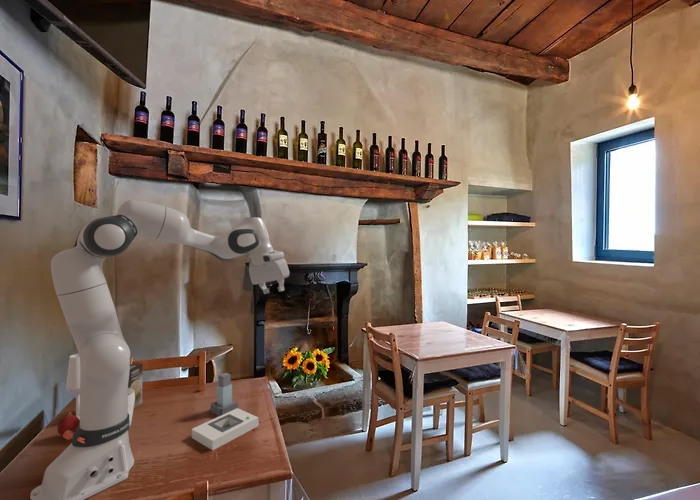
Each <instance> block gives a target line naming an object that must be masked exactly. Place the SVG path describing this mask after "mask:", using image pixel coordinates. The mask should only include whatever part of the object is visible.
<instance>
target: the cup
mask: <svg viewBox="0 0 700 500" xmlns="http://www.w3.org/2000/svg"><path fill="white" fill-rule="evenodd" d="M134 402H135V393H134V389H132V388H128V414H129V421H130V426H131V425H132V420H133V413H134V409H135V408H134ZM133 408H134V409H133Z"/></svg>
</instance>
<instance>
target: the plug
mask: <svg viewBox="0 0 700 500" xmlns="http://www.w3.org/2000/svg"><path fill="white" fill-rule="evenodd" d="M231 377H232V376H231V373H228V372H223V373H221V374H218V383H217V385H216V401H217V405H218V406H220V407H222V408H223V407H225V406H228V405H230V404H232V403H233V384H232V383H231V381H232V380H231V379H232V378H231Z"/></svg>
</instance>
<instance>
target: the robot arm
mask: <svg viewBox="0 0 700 500" xmlns="http://www.w3.org/2000/svg"><path fill="white" fill-rule="evenodd" d="M136 237H141V238H147V239H150V240H155V241H159V242H163V243H170V244H177V245H183V246H186V247H190V248H193V249H195V250H196V249H197V250H200V251H203V252H206V253H208V254H211V255H212V256H214V257H215V258H216V259H218V260H220V261H225V262H226V261H227V262H229V261H232V260H233V259H235V258H237V257H241V256H243V255H246V254H247V253H249V256H250V259H251V261H250V262H249V266H248V272H249V278H250V282H251V283H252V285H253V286H254V285H258V286H259V288H260V289H261V290H262V291H263V294H264V295H266V294H270V289H269V288H267V285H266V283H268V282H274V281H277V283H278V287H277V290H278V292H283V291H285V286H284V285H285V279H287V278H289V277H290V270H289V266H288V263H287V261H286V259H285V253H284V252H283V251H280V250H276V249H274V247H273V245H272V243H271V240H270V235H269V232H268V229H267V225H266V224H265V222H264V220H263V219H262V218H261V217H258V216H250V217H249V216H248V217H246V218H242V220H241V222H240V223H239V224H238V225H237V226H235V227H234V228H233V229H231V230H230V231H227V232H225V233H223V234H220V235H211V234H209V233H206V232H203V231H199V230H197V229H194V228H192V226H191V223H190V219H189V218H188V216H187V215H186V214H185V213H183V212H182V211H179V210H178V209H175V208H172V207H170V206H166V205H163V204H158V203H154V202H150V201H145V200H138V199H130V200H127V201H124V202H123V203H121V205H120V206H119V208H118V209H117V212H116V214H115V215H110V216H104V217H100V218H94V219H92V220H90V221H88V222H86V223H85V224H84V225H83V226H82V227H81V228H80V230H79V232H78V233H77V237H76V240H75V242H74V245H73V247H72V248H68V249H64V250H61V251H59V252H58V253H56V254H55V255H54V256H53V257H52V258H51V260H50V271H51V272H50V273H51V278H52V283H53V287H54V290H55V294H56V297H57V299H58V302H59V305H60V308H61V310H62V314H63V316H64V318H65V322H66V325H67V327H68V330H69V332H70V334H71V336H72V339H73V342H74V344H75V347H76V349H77V352H78V353H77V354H79V357H80V425H79V426H78V428H77V430H76V432H75V433H74V432H72V431H71V430H67V431H66V432H65V433H64V434H63V436H62V438H64V439H66V440H67V441H70V440H71V443H70V444H69V445H68V446H67V447H66V448H65V449H64V450H63V451H62V452H61V453H60V454H59V455H58V456H57V457H56V458H55V459H53V461H51V463H49V465H48V466H47V468H46V469H45V471H44V474H43V477H42V482H41V484H40V485H38V486H36V487H35V488H33V489H32V490H31V492H30V497H29V500H30V499H31V500H86V499H87V498H91V497H92V496H94V495H96V494H98V493H100V492H103V491H105V490H106V489H109V488H110V487H112V486H114V485H117V484H118V483H121V482H123V481H125V480H127V478H128V477H129V473H130V470H131V468H132V467H133V466H134V464H135V458H134V455H133V453H132V450H131V444H130V439H129V432H130V427H131V425H130V421H129V414H128V381H129V371H130V364H131V350H130V347H129V345H128V343H127V341H126V339H125V337H124V335H123V331H122V329H121V325H120V322H119V319H118V315H117V311H116V307H115V304H114V301H113V298H112V295H111V291H110V289H109V286H108V282H107V279H106V277H105V274H104V270H103V263H104V261H105V259H107V258H112V257H117V256H119V255H120V254H123V253H125V252H126V250H127V249H128V248H129V247H130V246H131V245H132V243H133V240H134V239H135V238H136ZM35 495H36V496H35Z"/></svg>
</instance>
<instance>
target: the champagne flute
mask: <svg viewBox="0 0 700 500" xmlns="http://www.w3.org/2000/svg"><path fill="white" fill-rule="evenodd" d="M65 384H66V385H65V388H66V391H67V392H69V393H70V394H72V395H74V396H75V416H76V417H78V418H79V420H80V357H79V353H75V354H72V355H69V359H68V368H67V375H66V383H65Z"/></svg>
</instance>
